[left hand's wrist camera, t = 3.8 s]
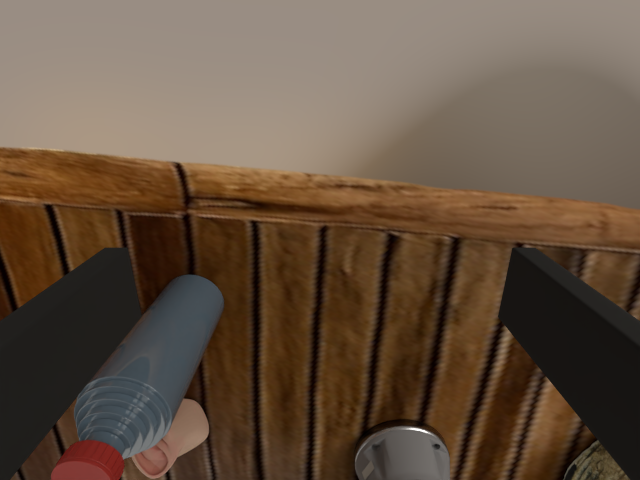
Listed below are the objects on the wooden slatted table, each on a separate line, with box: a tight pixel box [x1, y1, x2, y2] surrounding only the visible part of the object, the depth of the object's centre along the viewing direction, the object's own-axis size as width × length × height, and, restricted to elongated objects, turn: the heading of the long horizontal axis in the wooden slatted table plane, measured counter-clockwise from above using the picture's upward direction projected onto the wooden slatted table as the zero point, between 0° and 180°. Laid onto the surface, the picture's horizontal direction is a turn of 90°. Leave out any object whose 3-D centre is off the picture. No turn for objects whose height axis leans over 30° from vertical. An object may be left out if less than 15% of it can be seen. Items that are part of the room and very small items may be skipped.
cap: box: [51, 440, 125, 480], centre depth 27 cm, size 4×4×2 cm
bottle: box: [74, 275, 224, 460], centre depth 39 cm, size 8×8×25 cm
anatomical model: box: [131, 399, 209, 479], centre depth 56 cm, size 13×4×12 cm
